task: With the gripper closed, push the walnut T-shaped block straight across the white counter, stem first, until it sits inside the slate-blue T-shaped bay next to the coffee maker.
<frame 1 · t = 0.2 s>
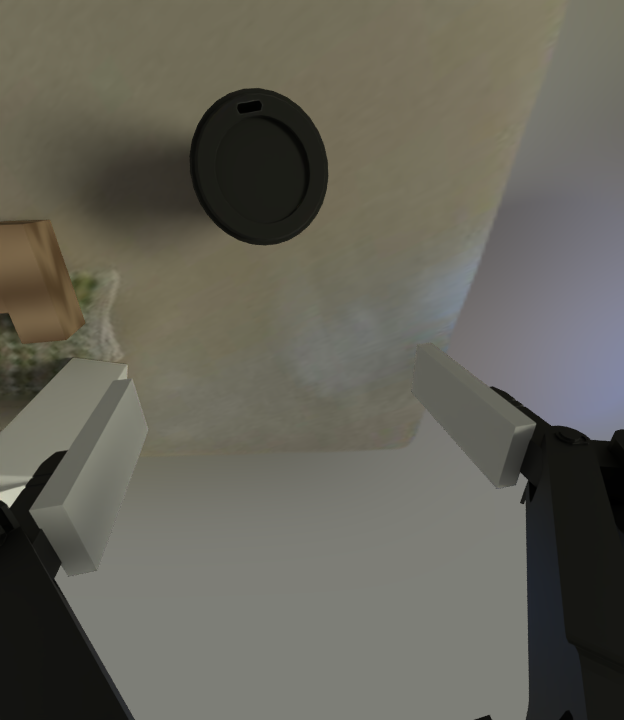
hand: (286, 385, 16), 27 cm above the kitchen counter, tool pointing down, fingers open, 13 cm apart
t block: (5, 278, 35), on the kitchen counter
coffee cup: (253, 179, 36), on the kitchen counter
milk: (101, 380, 42), on the kitchen counter
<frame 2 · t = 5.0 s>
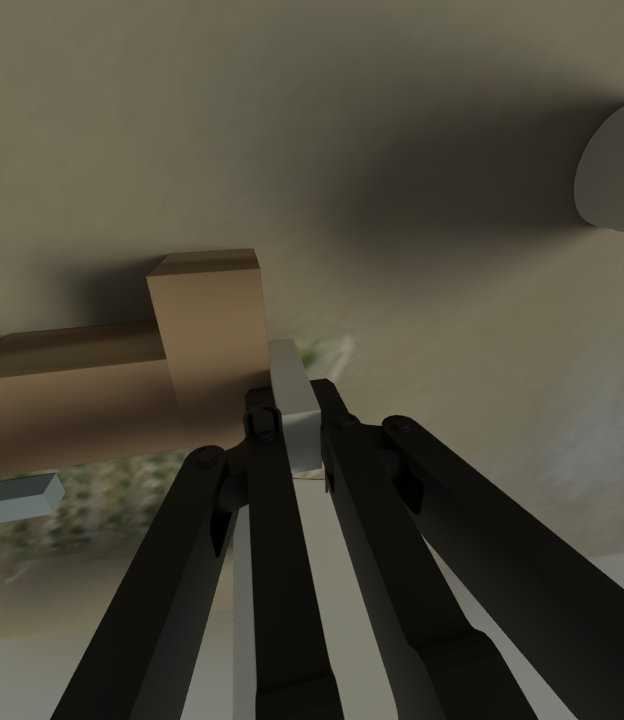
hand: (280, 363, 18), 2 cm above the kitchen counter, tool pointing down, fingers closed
t block: (153, 360, 18), on the kitchen counter, touching gripper
coffee cup: (619, 167, 19), on the kitchen counter
milk: (278, 505, 26), on the kitchen counter
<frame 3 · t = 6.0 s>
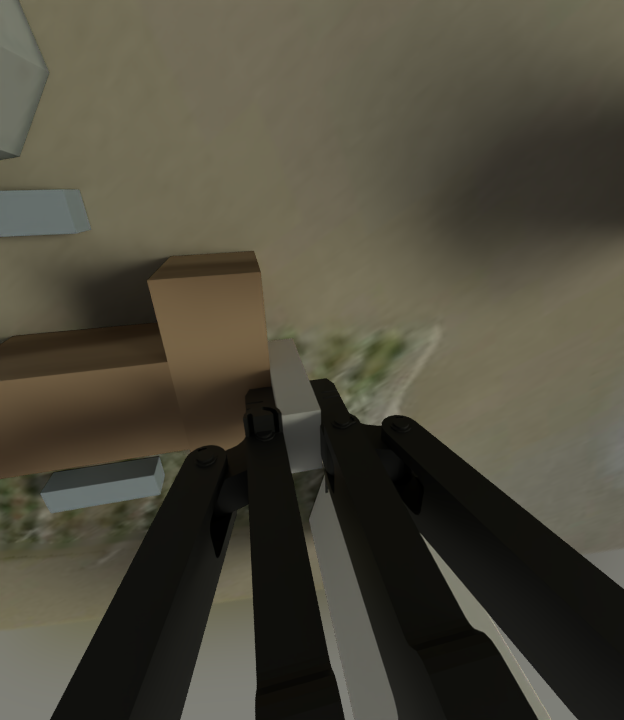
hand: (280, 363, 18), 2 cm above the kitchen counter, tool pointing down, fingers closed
t block: (154, 362, 18), on the kitchen counter, touching gripper
milk: (352, 490, 27), on the kitchen counter
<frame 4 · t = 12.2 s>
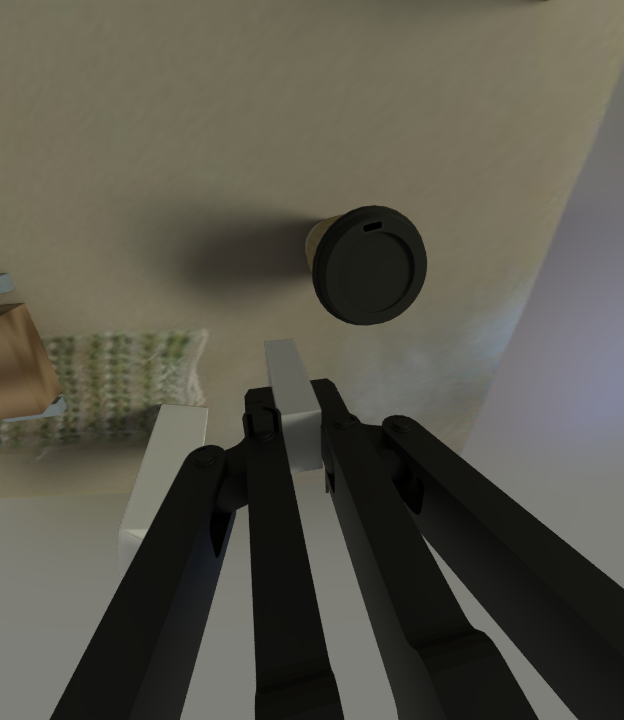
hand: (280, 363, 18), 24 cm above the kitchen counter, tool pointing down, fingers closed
coffee cup: (330, 246, 40), on the kitchen counter
milk: (183, 422, 46), on the kitchen counter
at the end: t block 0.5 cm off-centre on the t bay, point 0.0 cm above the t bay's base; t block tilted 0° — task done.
